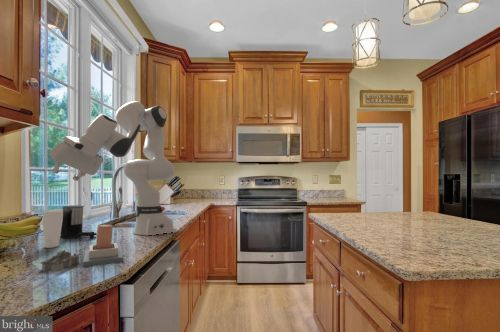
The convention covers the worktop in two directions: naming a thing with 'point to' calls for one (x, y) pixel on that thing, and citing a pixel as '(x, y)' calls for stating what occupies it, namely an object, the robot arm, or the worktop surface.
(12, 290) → the worktop surface
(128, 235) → the worktop surface
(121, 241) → the worktop surface
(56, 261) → the grey rock frame
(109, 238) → the pillar
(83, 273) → the worktop surface
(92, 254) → the base board
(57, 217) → the drinking glass
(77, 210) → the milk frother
